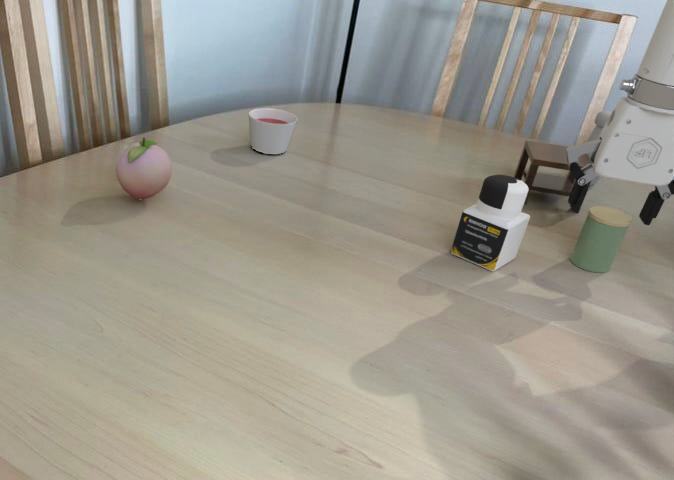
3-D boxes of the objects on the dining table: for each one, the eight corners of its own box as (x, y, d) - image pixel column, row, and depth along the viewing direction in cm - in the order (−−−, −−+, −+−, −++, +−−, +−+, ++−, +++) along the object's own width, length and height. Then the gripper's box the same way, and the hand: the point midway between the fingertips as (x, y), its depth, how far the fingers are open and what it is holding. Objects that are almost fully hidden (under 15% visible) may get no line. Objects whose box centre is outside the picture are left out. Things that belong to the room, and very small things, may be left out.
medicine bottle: (448, 253, 110) (472, 176, 103) (472, 240, 114) (496, 166, 108) (493, 273, 106) (520, 194, 99) (515, 259, 110) (543, 182, 104)
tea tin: (605, 258, 113) (627, 210, 109) (614, 276, 108) (637, 226, 104) (566, 251, 114) (585, 203, 109) (573, 269, 109) (593, 219, 105)
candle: (269, 138, 146) (273, 105, 142) (301, 153, 140) (307, 119, 137) (235, 145, 141) (238, 112, 137) (267, 161, 135) (272, 127, 132)
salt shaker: (570, 184, 139) (596, 114, 131) (565, 173, 143) (590, 105, 136) (603, 189, 138) (631, 119, 130) (596, 178, 142) (624, 110, 135)
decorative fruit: (163, 216, 113) (166, 152, 107) (110, 208, 113) (111, 144, 108) (174, 192, 120) (178, 131, 115) (125, 185, 121) (126, 124, 115)
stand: (568, 191, 135) (584, 149, 131) (578, 213, 127) (596, 168, 123) (511, 182, 137) (525, 140, 132) (518, 203, 129) (533, 158, 124)
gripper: (598, 91, 95) (550, 214, 105) (742, 113, 93) (680, 237, 102) (586, 77, 101) (542, 194, 111) (721, 97, 99) (664, 215, 109)
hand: (608, 215), depth 107 cm, fingers open, 9 cm apart
